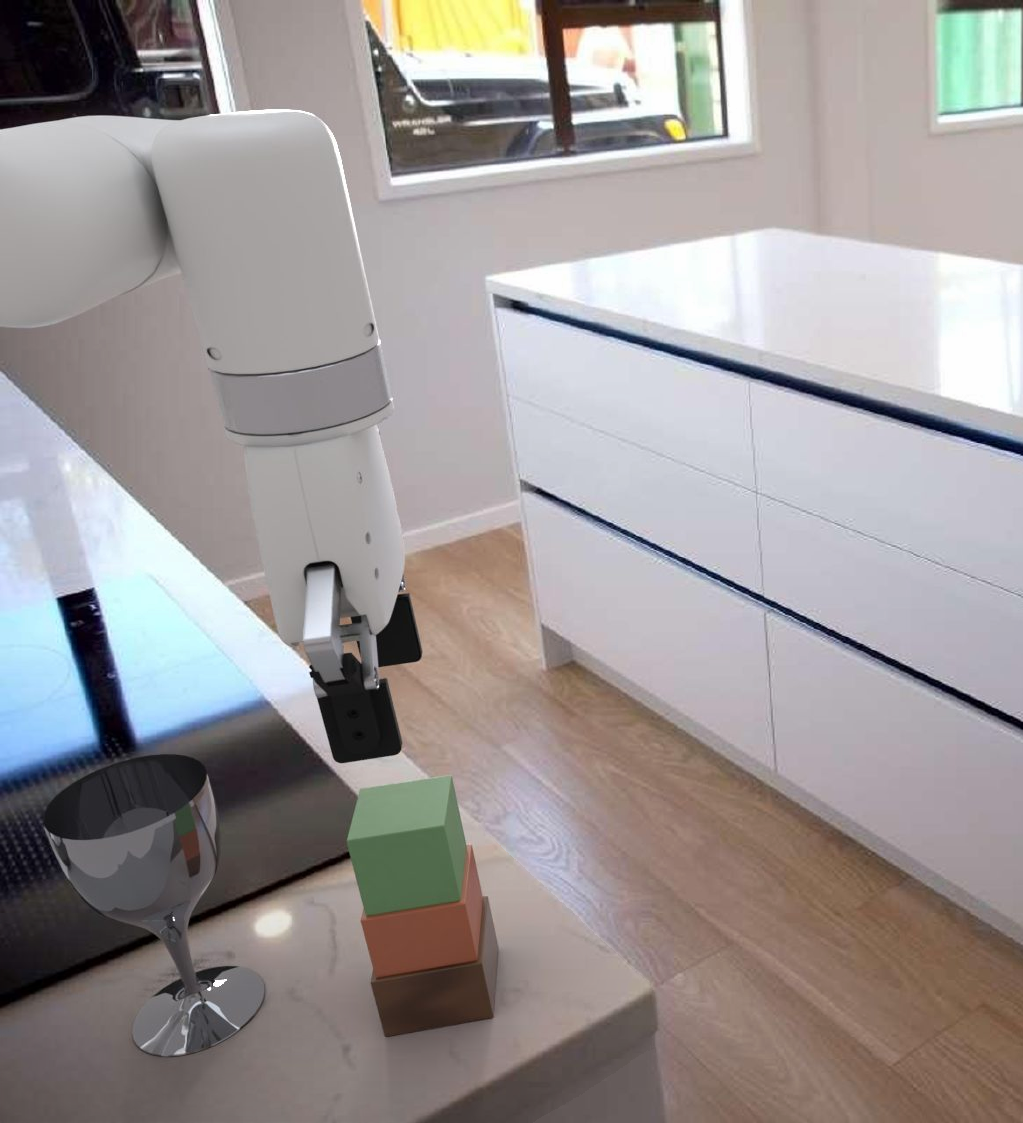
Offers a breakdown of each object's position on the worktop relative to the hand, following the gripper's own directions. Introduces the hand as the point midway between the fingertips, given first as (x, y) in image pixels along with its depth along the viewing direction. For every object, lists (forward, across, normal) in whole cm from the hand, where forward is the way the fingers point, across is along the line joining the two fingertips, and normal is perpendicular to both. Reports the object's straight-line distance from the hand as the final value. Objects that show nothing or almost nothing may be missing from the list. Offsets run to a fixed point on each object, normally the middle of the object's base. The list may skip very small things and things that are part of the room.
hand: (382, 706), depth 67 cm
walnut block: (+19, 0, 0) cm, 19 cm away
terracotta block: (+15, 0, 0) cm, 15 cm away
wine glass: (+19, -2, -14) cm, 24 cm away
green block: (+11, 0, 0) cm, 11 cm away
